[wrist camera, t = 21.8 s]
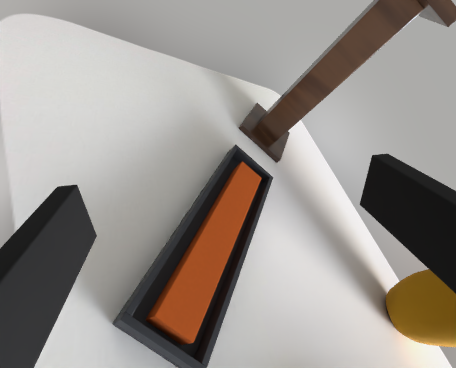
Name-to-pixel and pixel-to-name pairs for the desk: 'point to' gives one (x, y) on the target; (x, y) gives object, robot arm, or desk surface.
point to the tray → (170, 257)
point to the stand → (338, 66)
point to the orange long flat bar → (204, 260)
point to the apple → (424, 309)
